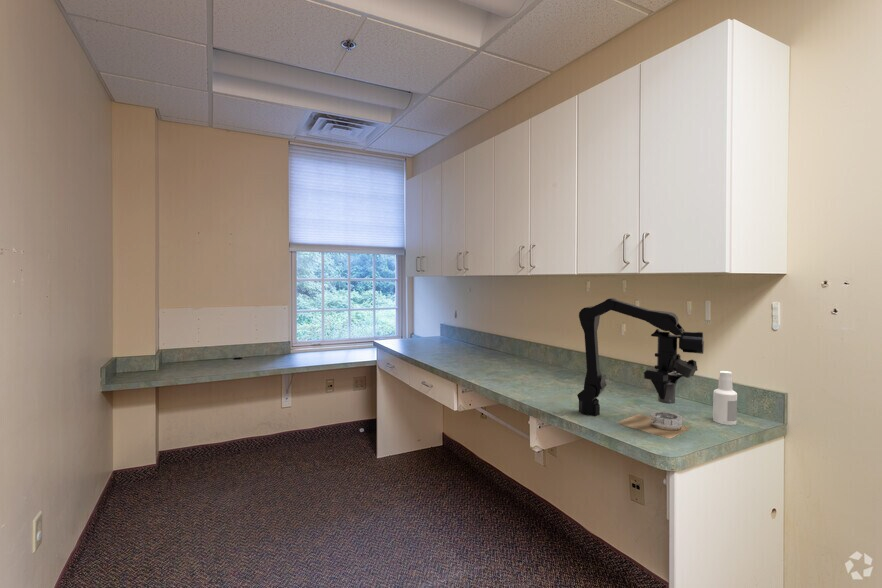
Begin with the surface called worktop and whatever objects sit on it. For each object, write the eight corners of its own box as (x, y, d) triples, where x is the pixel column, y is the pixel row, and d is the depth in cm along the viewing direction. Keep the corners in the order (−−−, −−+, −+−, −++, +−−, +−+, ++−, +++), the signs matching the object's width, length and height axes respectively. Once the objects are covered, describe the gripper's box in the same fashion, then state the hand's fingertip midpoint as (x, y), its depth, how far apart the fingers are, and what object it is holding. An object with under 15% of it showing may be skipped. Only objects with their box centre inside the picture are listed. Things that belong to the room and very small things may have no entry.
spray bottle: (739, 428, 144) (740, 374, 143) (715, 426, 146) (716, 373, 145) (733, 422, 150) (734, 370, 149) (710, 419, 153) (711, 369, 152)
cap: (655, 401, 144) (655, 382, 144) (662, 398, 147) (662, 380, 147) (670, 404, 140) (670, 385, 140) (677, 401, 143) (678, 383, 143)
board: (615, 425, 148) (615, 422, 148) (639, 416, 157) (639, 413, 157) (669, 441, 133) (670, 438, 133) (692, 430, 142) (692, 427, 142)
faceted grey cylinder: (645, 425, 145) (645, 415, 145) (659, 419, 150) (659, 409, 150) (673, 433, 138) (673, 422, 137) (687, 426, 143) (687, 416, 143)
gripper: (679, 358, 131) (678, 409, 132) (706, 350, 142) (705, 397, 143) (643, 352, 140) (642, 400, 140) (671, 346, 151) (670, 390, 152)
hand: (666, 397), depth 144 cm, fingers closed on cap, 5 cm apart
